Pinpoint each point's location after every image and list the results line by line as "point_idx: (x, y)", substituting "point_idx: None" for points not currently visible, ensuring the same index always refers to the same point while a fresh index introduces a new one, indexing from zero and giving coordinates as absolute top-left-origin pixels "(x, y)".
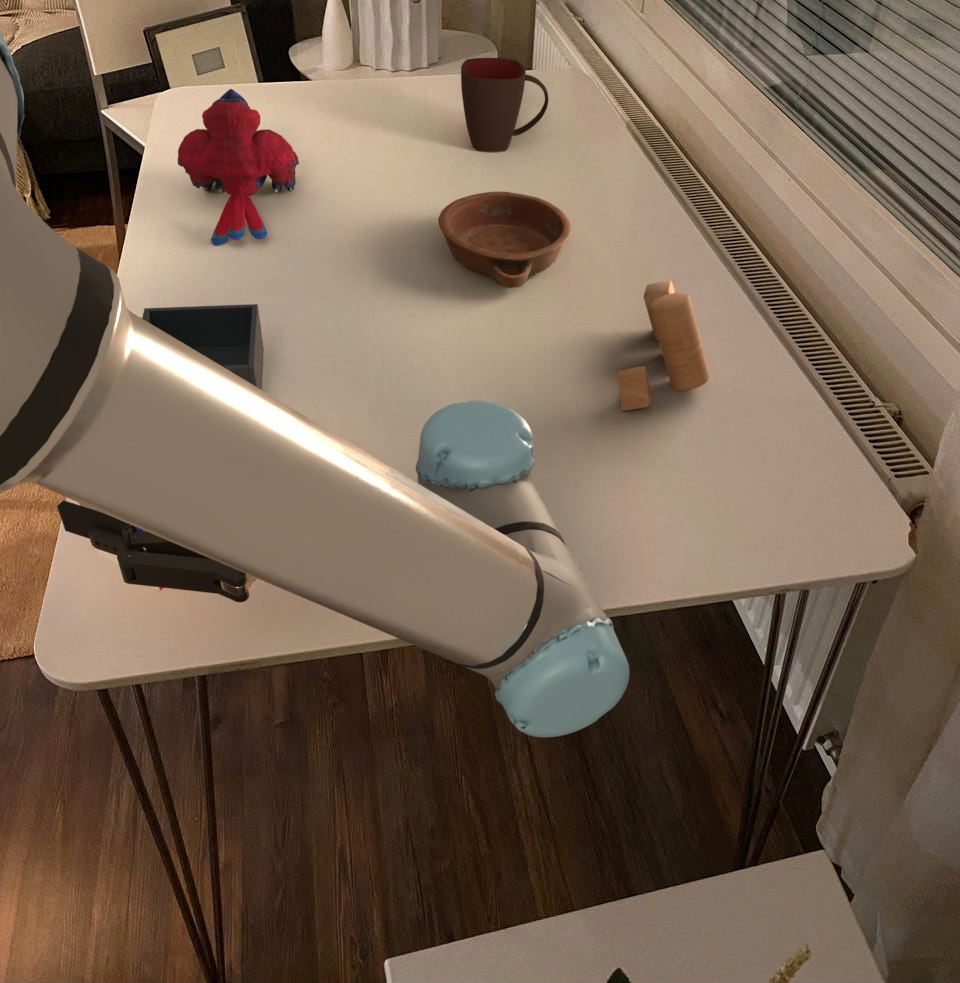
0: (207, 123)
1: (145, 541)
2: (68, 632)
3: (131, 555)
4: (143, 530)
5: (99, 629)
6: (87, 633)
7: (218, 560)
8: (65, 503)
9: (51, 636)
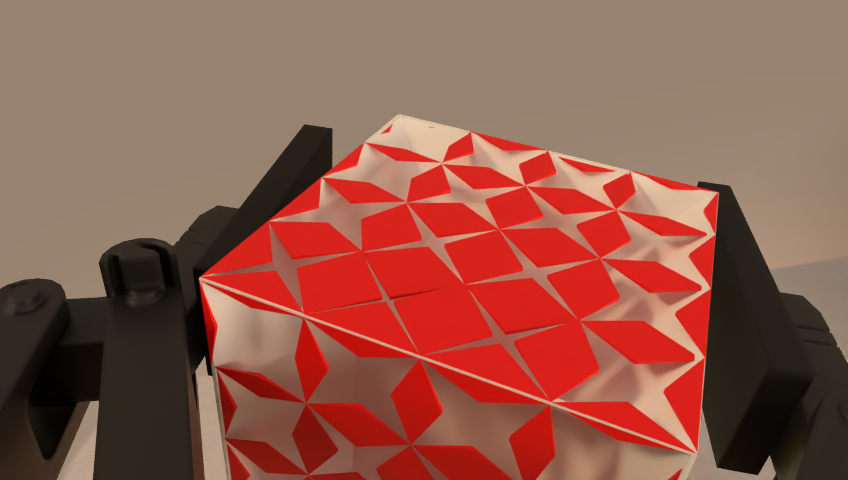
0: None
1: (112, 337)
2: (215, 408)
3: (23, 317)
4: (204, 318)
5: (223, 464)
6: (210, 444)
7: None
8: (319, 133)
9: (204, 383)
